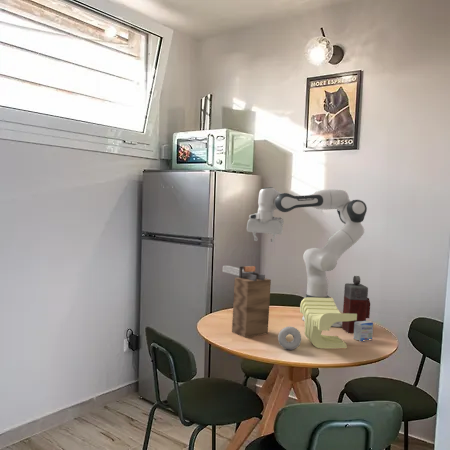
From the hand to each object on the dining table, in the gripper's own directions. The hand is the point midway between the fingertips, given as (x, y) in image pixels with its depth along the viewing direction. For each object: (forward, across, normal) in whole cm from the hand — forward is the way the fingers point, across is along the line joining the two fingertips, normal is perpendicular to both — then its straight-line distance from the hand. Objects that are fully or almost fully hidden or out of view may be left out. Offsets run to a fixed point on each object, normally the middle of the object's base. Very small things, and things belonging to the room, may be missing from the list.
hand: (264, 241), depth 248 cm
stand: (+41, -7, +36) cm, 55 cm away
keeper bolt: (+15, +3, +30) cm, 34 cm away
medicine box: (+41, -57, +17) cm, 72 cm away
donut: (+41, -30, +50) cm, 71 cm away
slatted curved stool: (+41, -42, +33) cm, 68 cm away
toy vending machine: (+41, -52, +3) cm, 66 cm away
